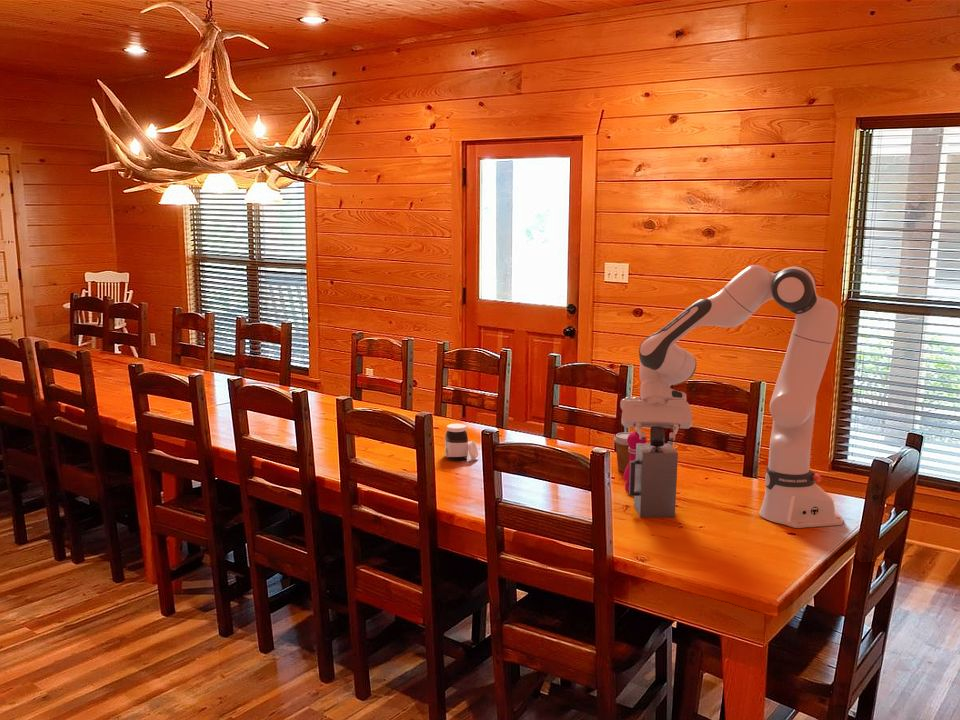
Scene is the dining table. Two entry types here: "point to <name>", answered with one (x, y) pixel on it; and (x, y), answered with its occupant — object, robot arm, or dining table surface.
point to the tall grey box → (654, 480)
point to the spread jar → (459, 443)
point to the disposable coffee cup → (622, 450)
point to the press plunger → (657, 436)
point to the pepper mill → (632, 454)
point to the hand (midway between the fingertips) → (657, 439)
